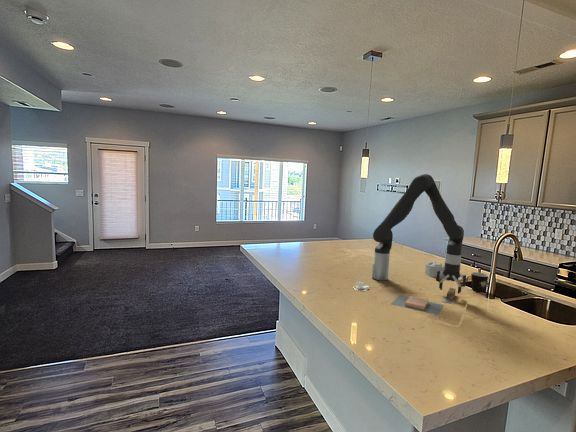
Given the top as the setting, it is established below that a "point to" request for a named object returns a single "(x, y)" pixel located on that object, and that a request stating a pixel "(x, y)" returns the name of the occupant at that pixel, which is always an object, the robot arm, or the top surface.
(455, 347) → the top surface
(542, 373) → the top surface
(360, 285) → the teacup and saucer
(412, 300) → the tile
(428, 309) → the slate mat
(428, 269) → the lumpy-topped squat cylinder
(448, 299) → the turner
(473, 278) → the coffee mug
